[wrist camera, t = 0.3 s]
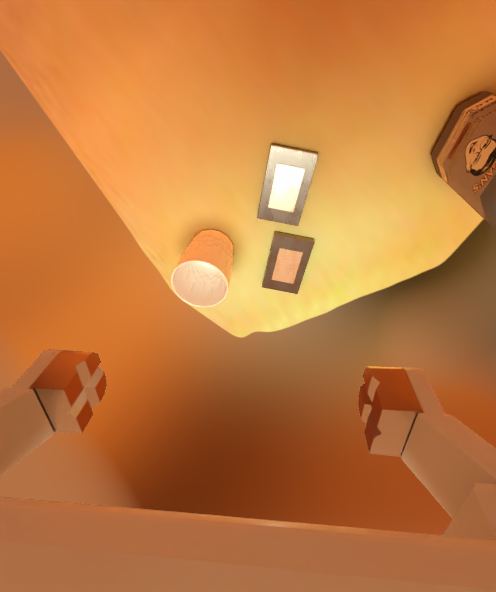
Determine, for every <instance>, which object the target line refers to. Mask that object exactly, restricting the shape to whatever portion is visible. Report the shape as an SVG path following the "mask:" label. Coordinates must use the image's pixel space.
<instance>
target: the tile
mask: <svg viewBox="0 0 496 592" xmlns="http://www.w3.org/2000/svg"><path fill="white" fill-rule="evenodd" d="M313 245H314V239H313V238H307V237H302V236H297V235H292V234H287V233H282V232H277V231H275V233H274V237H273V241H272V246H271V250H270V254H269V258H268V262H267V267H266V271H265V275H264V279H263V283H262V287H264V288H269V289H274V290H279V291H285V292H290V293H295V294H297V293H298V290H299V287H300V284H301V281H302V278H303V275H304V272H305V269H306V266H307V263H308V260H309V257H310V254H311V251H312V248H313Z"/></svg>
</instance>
